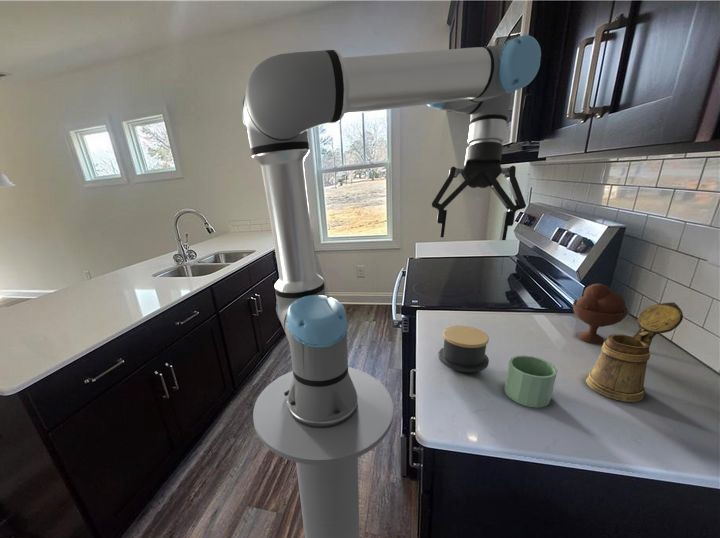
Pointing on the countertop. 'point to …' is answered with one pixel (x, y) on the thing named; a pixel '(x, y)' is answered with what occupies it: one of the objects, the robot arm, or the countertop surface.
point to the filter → (464, 349)
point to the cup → (530, 381)
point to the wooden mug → (631, 355)
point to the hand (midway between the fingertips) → (471, 238)
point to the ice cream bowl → (598, 310)
